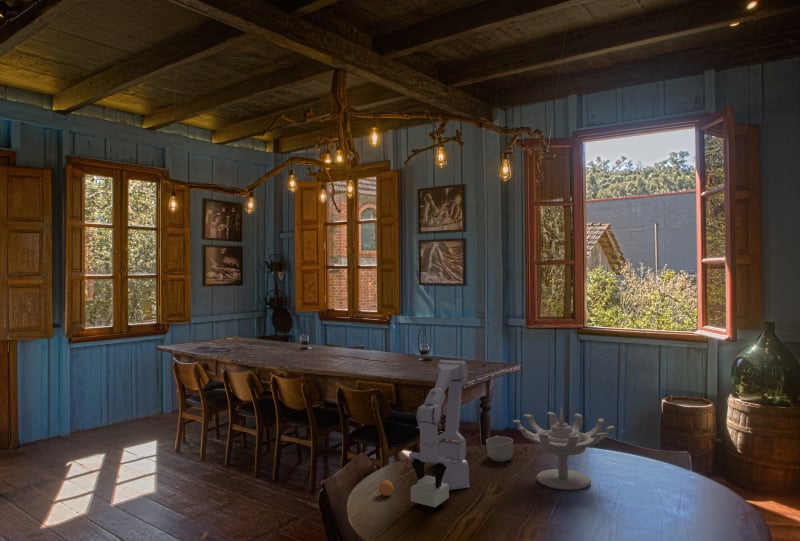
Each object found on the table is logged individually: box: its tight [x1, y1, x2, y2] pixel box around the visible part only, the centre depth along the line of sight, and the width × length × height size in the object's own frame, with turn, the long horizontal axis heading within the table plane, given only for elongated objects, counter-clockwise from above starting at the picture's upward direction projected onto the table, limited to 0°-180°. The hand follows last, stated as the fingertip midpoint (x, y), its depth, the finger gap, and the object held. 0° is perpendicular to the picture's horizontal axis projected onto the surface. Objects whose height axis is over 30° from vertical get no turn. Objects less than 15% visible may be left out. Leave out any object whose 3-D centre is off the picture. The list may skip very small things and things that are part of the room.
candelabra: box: [512, 406, 615, 491], centre depth 197 cm, size 34×35×27 cm
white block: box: [410, 474, 450, 508], centre depth 178 cm, size 9×9×6 cm
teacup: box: [485, 435, 514, 463], centre depth 225 cm, size 14×11×8 cm
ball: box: [378, 479, 394, 497], centre depth 187 cm, size 5×5×5 cm
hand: (429, 484), depth 178 cm, fingers closed on white block, 6 cm apart
